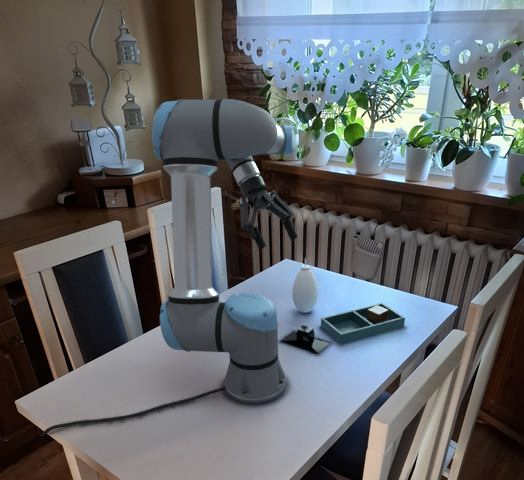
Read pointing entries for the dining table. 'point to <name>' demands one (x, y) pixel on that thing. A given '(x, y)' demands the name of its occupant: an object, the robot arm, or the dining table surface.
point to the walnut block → (377, 315)
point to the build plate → (305, 340)
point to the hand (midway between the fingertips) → (279, 243)
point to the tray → (359, 324)
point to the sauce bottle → (305, 289)
